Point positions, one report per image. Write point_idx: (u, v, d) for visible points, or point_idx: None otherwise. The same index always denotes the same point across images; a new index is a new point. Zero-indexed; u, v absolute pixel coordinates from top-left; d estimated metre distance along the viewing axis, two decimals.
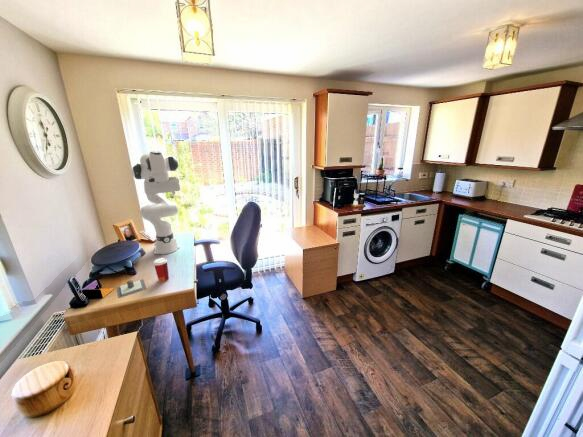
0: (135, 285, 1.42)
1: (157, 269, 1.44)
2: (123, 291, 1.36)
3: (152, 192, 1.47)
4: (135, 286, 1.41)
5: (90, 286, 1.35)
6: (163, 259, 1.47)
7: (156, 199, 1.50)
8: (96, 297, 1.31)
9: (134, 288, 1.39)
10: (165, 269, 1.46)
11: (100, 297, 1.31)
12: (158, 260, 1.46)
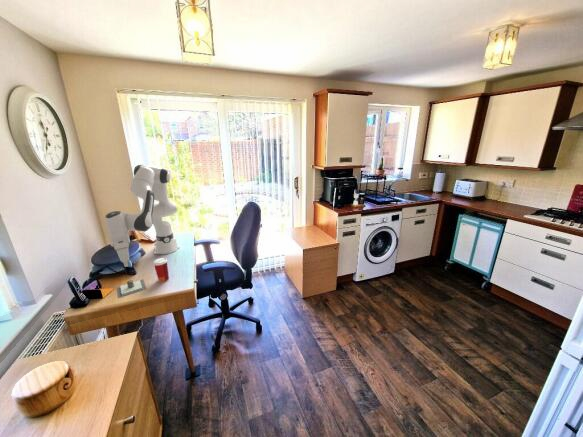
0: (135, 285, 1.42)
1: (157, 269, 1.44)
2: (123, 291, 1.36)
3: None
4: (135, 286, 1.41)
5: (90, 286, 1.35)
6: (163, 259, 1.47)
7: None
8: (96, 297, 1.31)
9: (134, 288, 1.39)
10: (165, 269, 1.46)
11: (100, 297, 1.31)
12: (158, 260, 1.46)
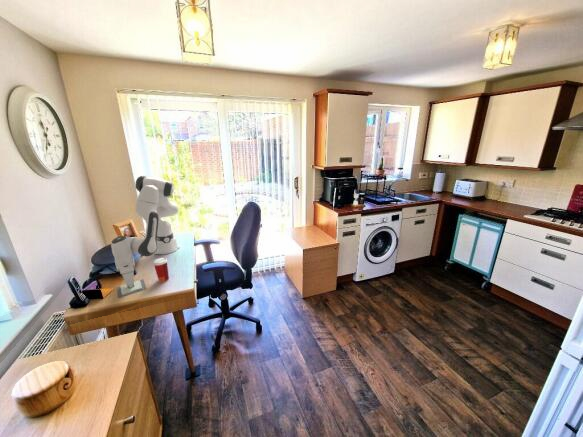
0: (135, 285, 1.42)
1: (157, 269, 1.44)
2: (123, 291, 1.36)
3: None
4: (135, 286, 1.41)
5: (90, 286, 1.34)
6: (163, 259, 1.47)
7: (132, 284, 1.39)
8: (96, 297, 1.31)
9: (134, 288, 1.39)
10: (165, 269, 1.46)
11: (101, 297, 1.31)
12: (158, 260, 1.46)
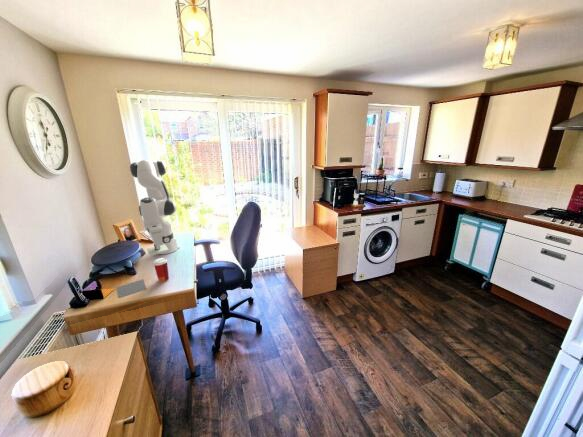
0: (161, 248, 1.44)
1: (157, 269, 1.44)
2: (151, 252, 1.39)
3: None
4: (162, 249, 1.43)
5: (90, 287, 1.34)
6: (163, 259, 1.47)
7: None
8: (97, 298, 1.31)
9: (161, 250, 1.42)
10: (165, 269, 1.46)
11: (101, 297, 1.31)
12: (158, 260, 1.46)
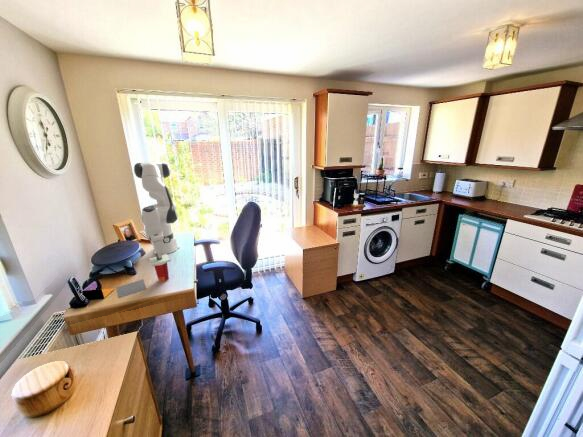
0: (163, 258, 1.47)
1: (157, 269, 1.44)
2: (153, 262, 1.41)
3: None
4: (164, 259, 1.45)
5: (90, 287, 1.34)
6: None
7: (161, 255, 1.42)
8: (97, 297, 1.31)
9: (163, 260, 1.44)
10: (165, 269, 1.46)
11: (101, 297, 1.31)
12: None
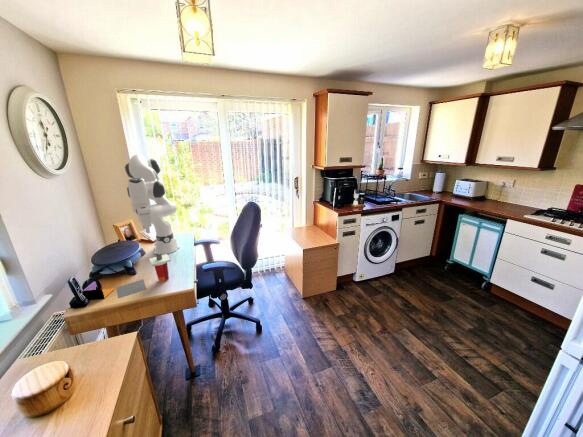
0: (163, 258, 1.47)
1: (157, 269, 1.44)
2: (153, 262, 1.41)
3: None
4: (164, 259, 1.45)
5: (90, 287, 1.34)
6: None
7: (149, 230, 1.35)
8: (97, 298, 1.31)
9: (163, 260, 1.44)
10: (165, 269, 1.46)
11: (102, 297, 1.31)
12: None
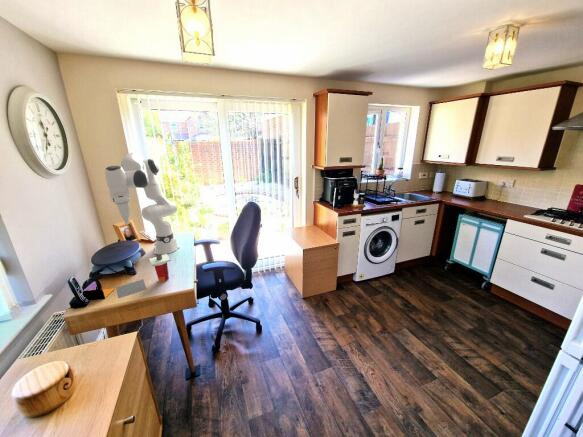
0: (163, 258, 1.47)
1: (157, 269, 1.44)
2: (153, 262, 1.41)
3: None
4: (164, 259, 1.45)
5: (90, 287, 1.34)
6: None
7: (128, 221, 1.29)
8: (98, 298, 1.31)
9: (163, 260, 1.44)
10: (165, 269, 1.46)
11: (102, 297, 1.31)
12: None
